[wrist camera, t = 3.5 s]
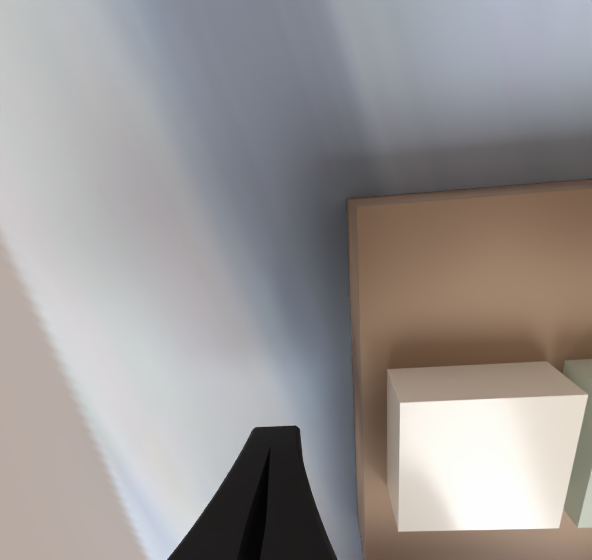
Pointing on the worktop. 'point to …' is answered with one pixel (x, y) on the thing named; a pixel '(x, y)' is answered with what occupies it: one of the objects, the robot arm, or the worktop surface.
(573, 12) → the worktop surface
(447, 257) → the walnut board
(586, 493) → the sage tile
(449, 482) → the cream tile
